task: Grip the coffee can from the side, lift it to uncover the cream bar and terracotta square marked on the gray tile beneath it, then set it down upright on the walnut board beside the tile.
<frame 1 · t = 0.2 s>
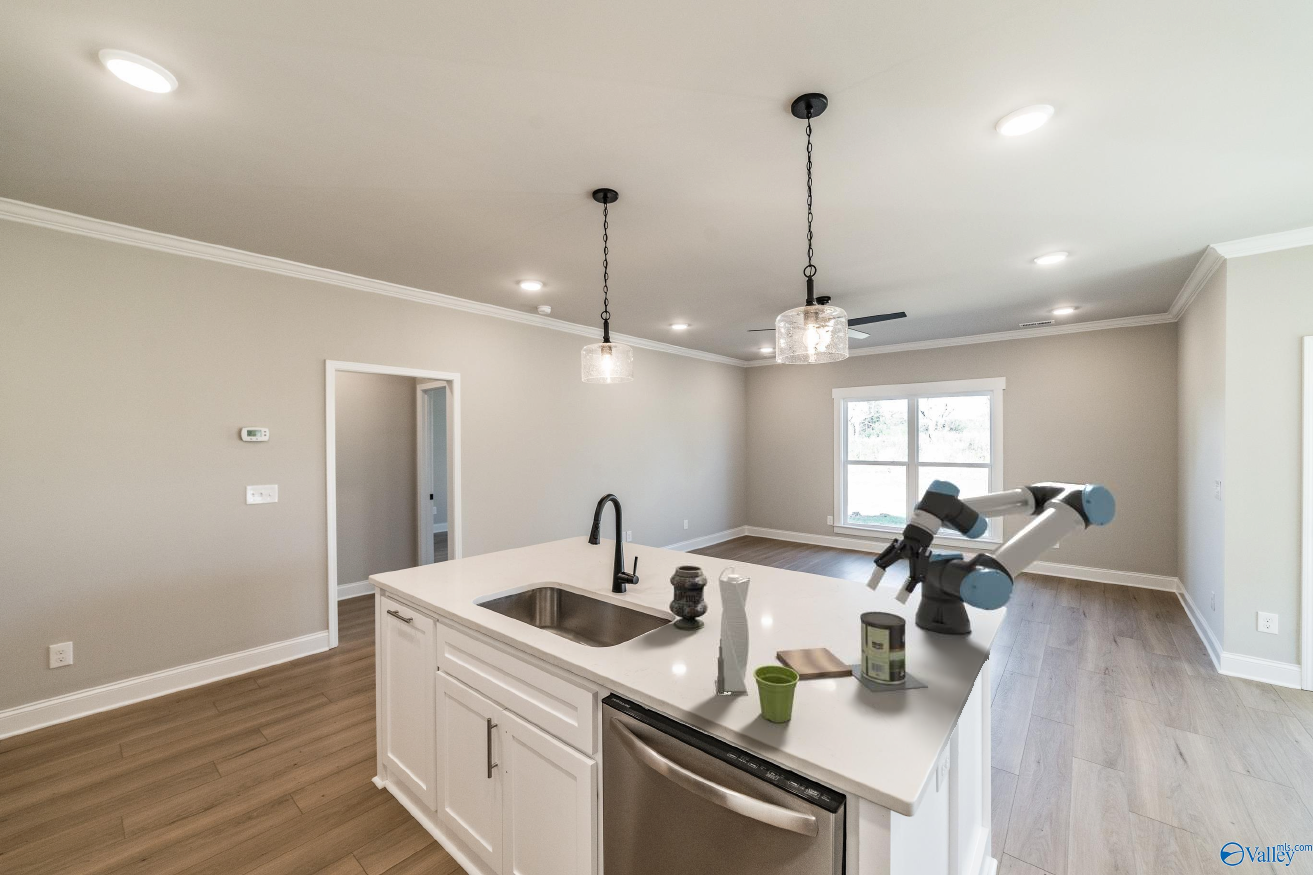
hand: (884, 594, 145), 15 cm above the table, tool tilted 35°, fingers open, 13 cm apart
walnut board: (812, 664, 135), on the table
gray tile: (882, 676, 128), on the table
apothecary jar: (688, 625, 164), on the table
skyscraper: (733, 688, 123), on the table
plant pot: (776, 716, 110), on the table
coffee can: (882, 676, 128), resting on gray tile
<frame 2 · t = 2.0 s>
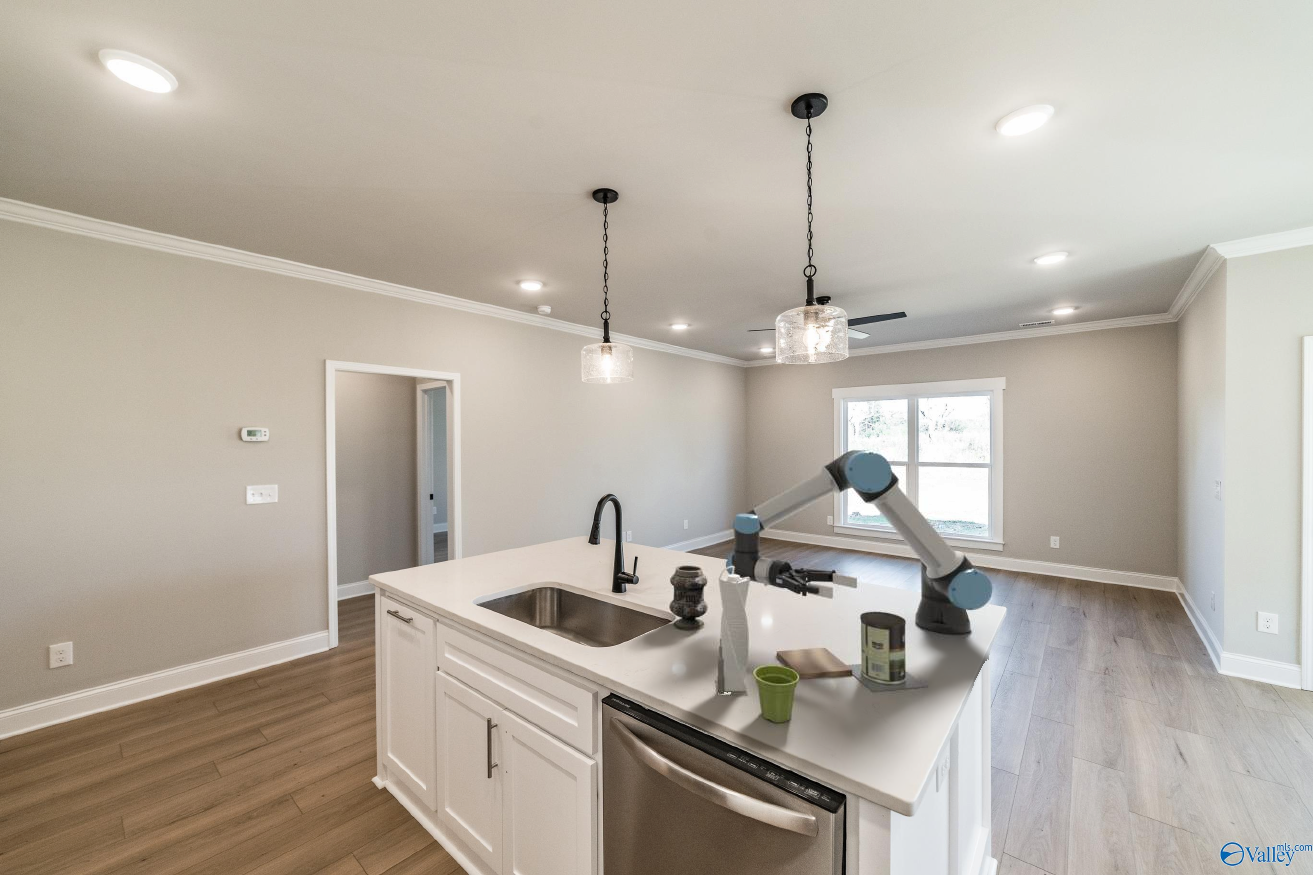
hand: (844, 587, 135), 20 cm above the table, tool horizontal, fingers open, 13 cm apart
nothing on the table moved.
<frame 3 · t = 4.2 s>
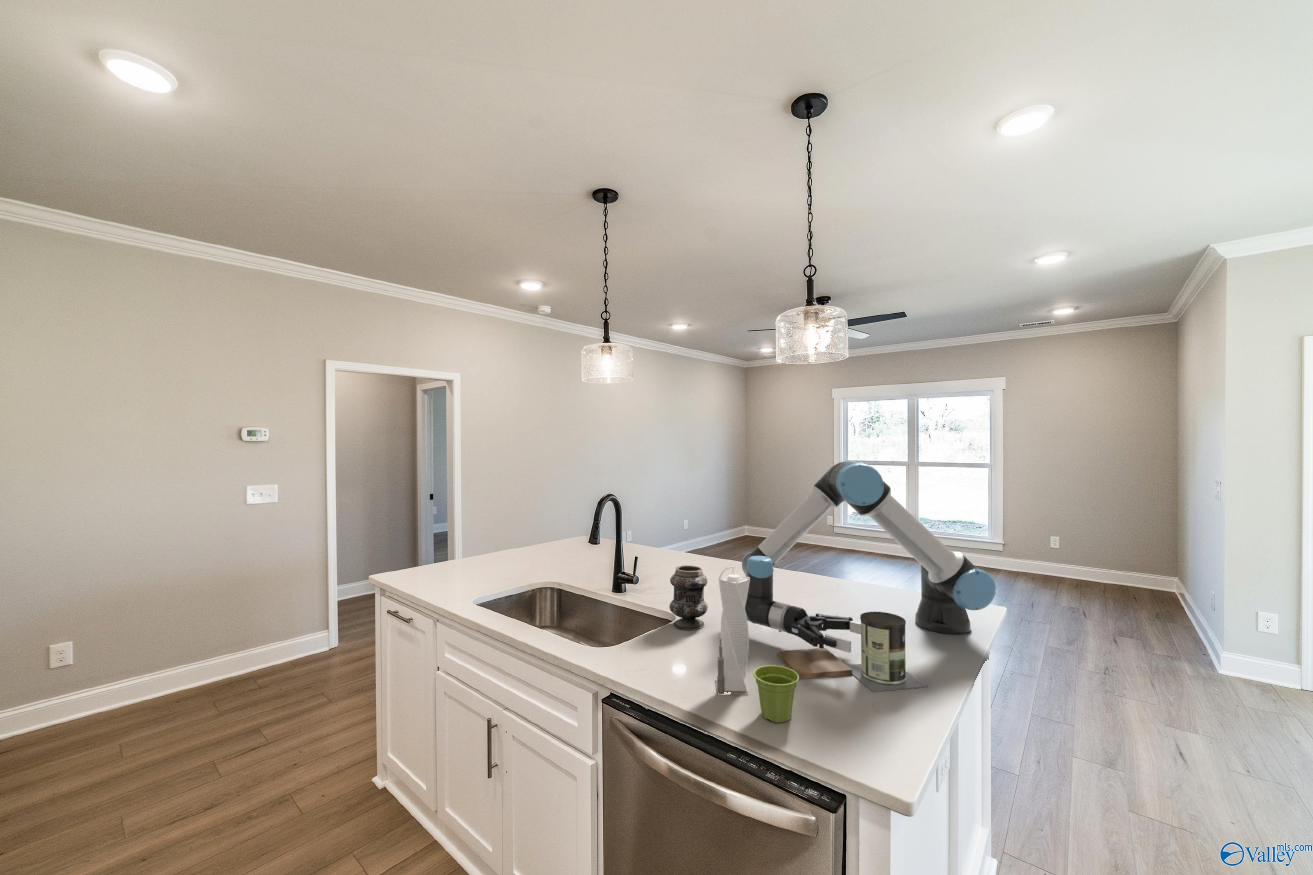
hand: (863, 639, 131), 8 cm above the table, tool horizontal, fingers open, 13 cm apart
nothing on the table moved.
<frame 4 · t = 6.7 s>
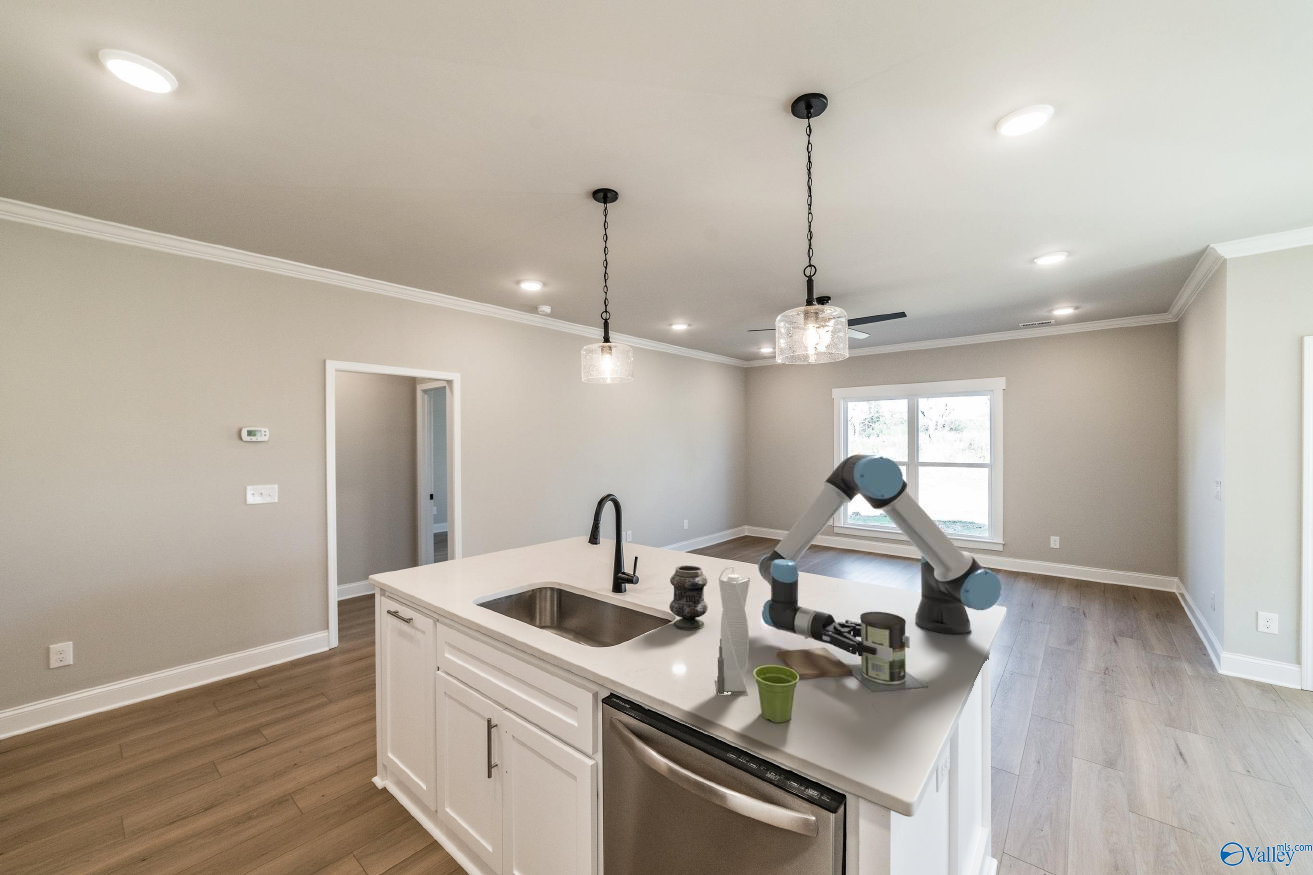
hand: (900, 648, 125), 8 cm above the table, tool horizontal, fingers closed on coffee can, 10 cm apart
coffee can: (882, 676, 128), resting on gray tile, touching gripper
everything else where it was.
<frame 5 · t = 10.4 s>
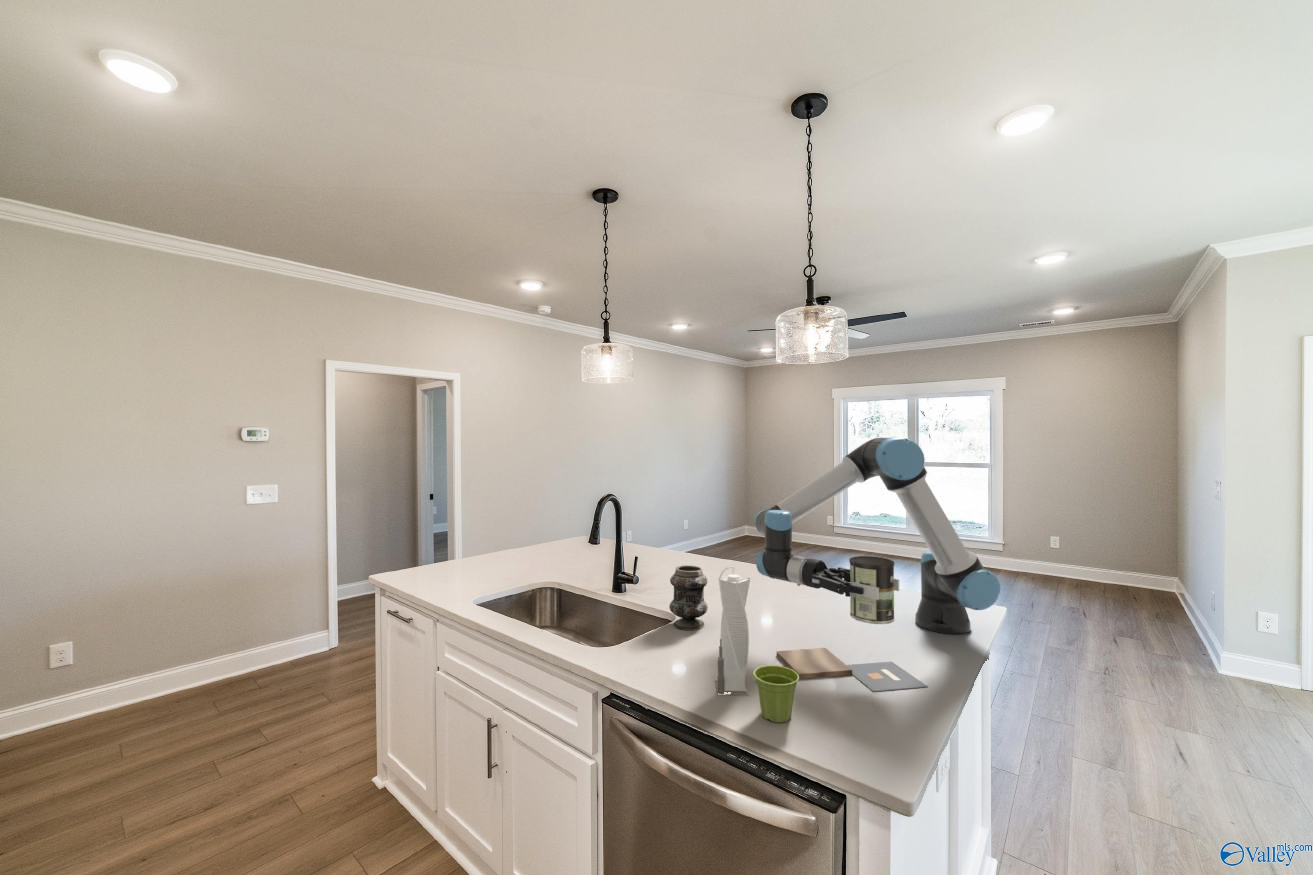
hand: (888, 589, 125), 22 cm above the table, tool horizontal, fingers closed on coffee can, 10 cm apart
coffee can: (871, 618, 129), point 14 cm above the table, touching gripper
everything else where it was.
when the fingers open (10 cm above the table, at t = 14.5 s): coffee can drops 1 cm, resting on walnut board.
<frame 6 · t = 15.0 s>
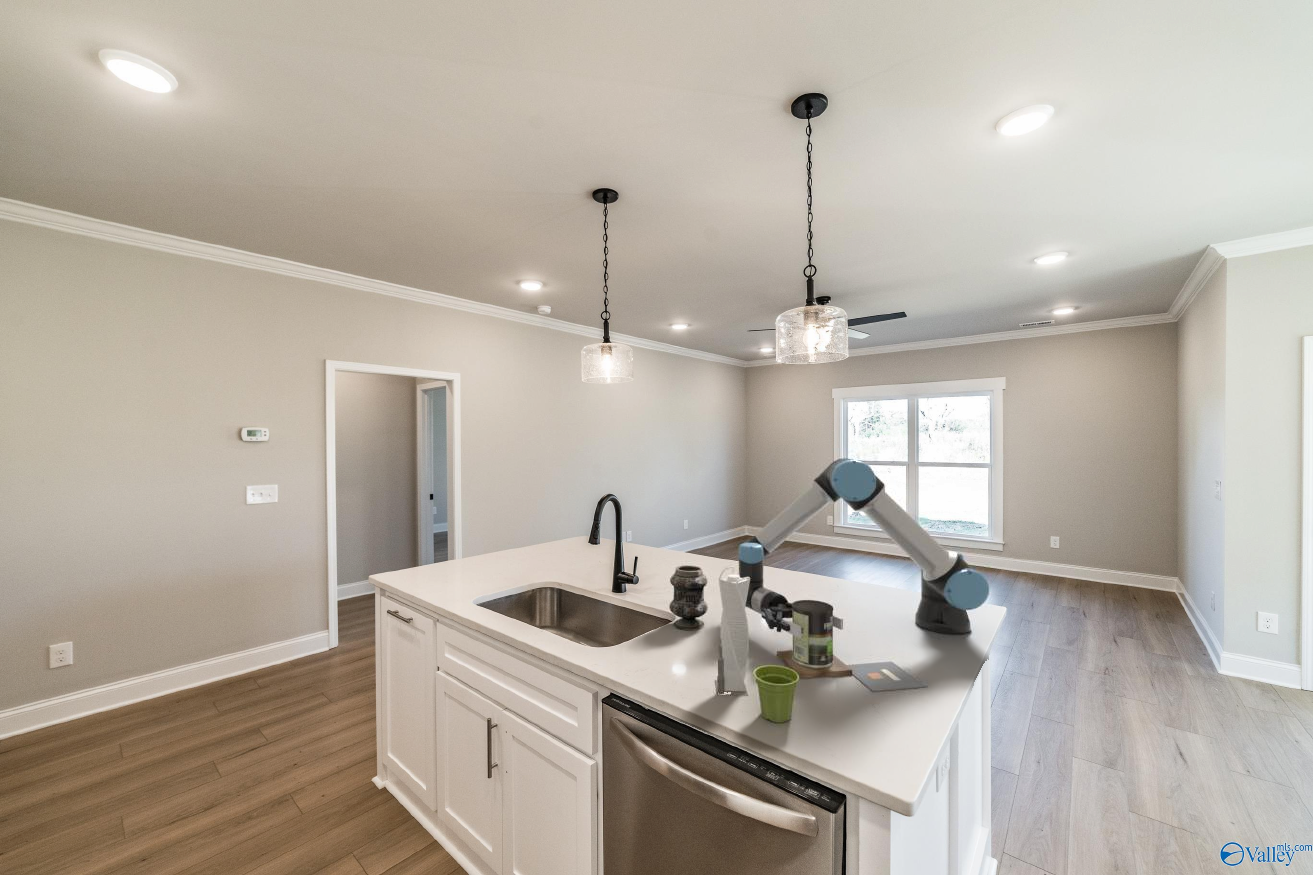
hand: (821, 628, 132), 10 cm above the table, tool horizontal, fingers open, 13 cm apart
coffee can: (812, 660, 135), point 1 cm above the table, touching walnut board
everything else where it was.
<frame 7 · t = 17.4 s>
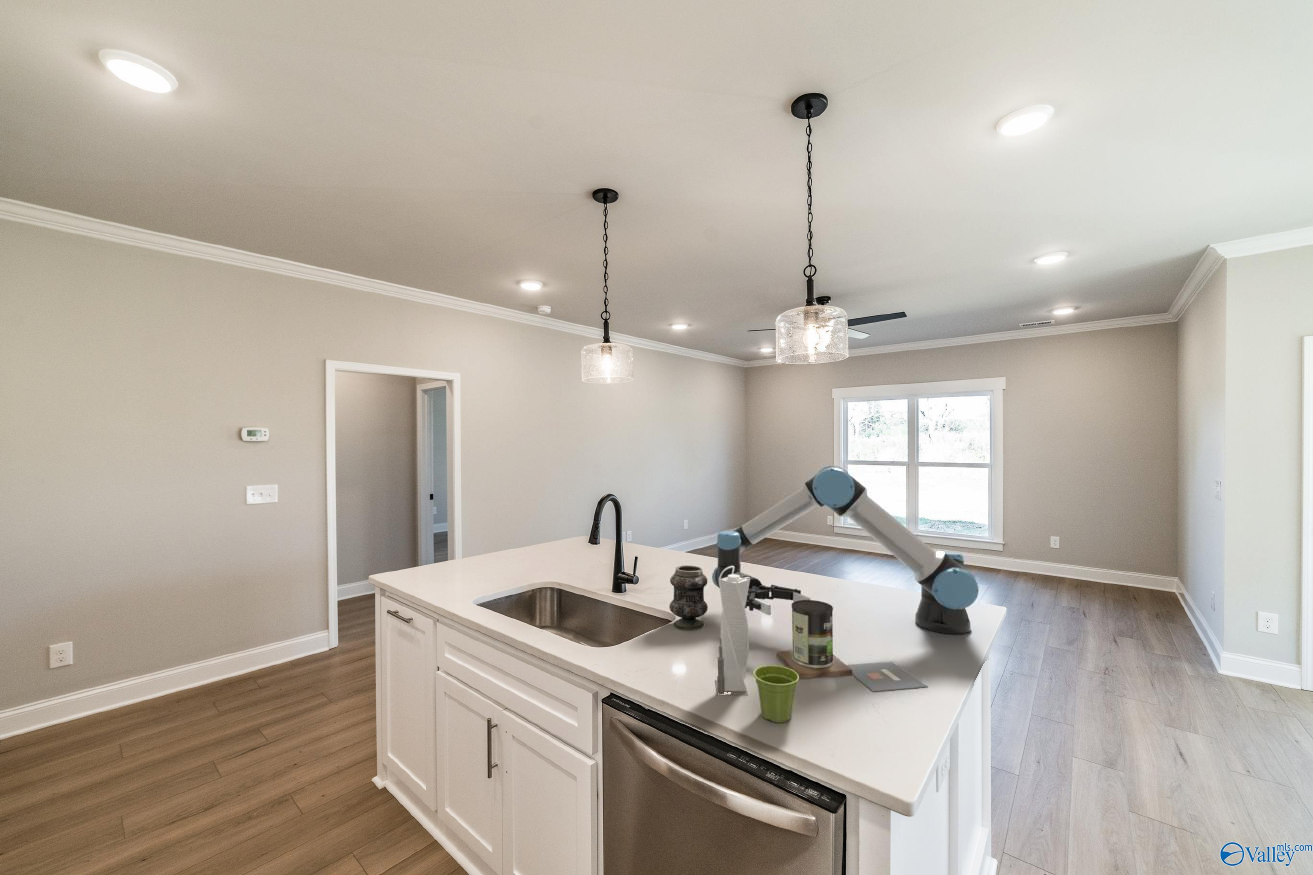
hand: (789, 606, 143), 12 cm above the table, tool horizontal, fingers open, 13 cm apart
nothing on the table moved.
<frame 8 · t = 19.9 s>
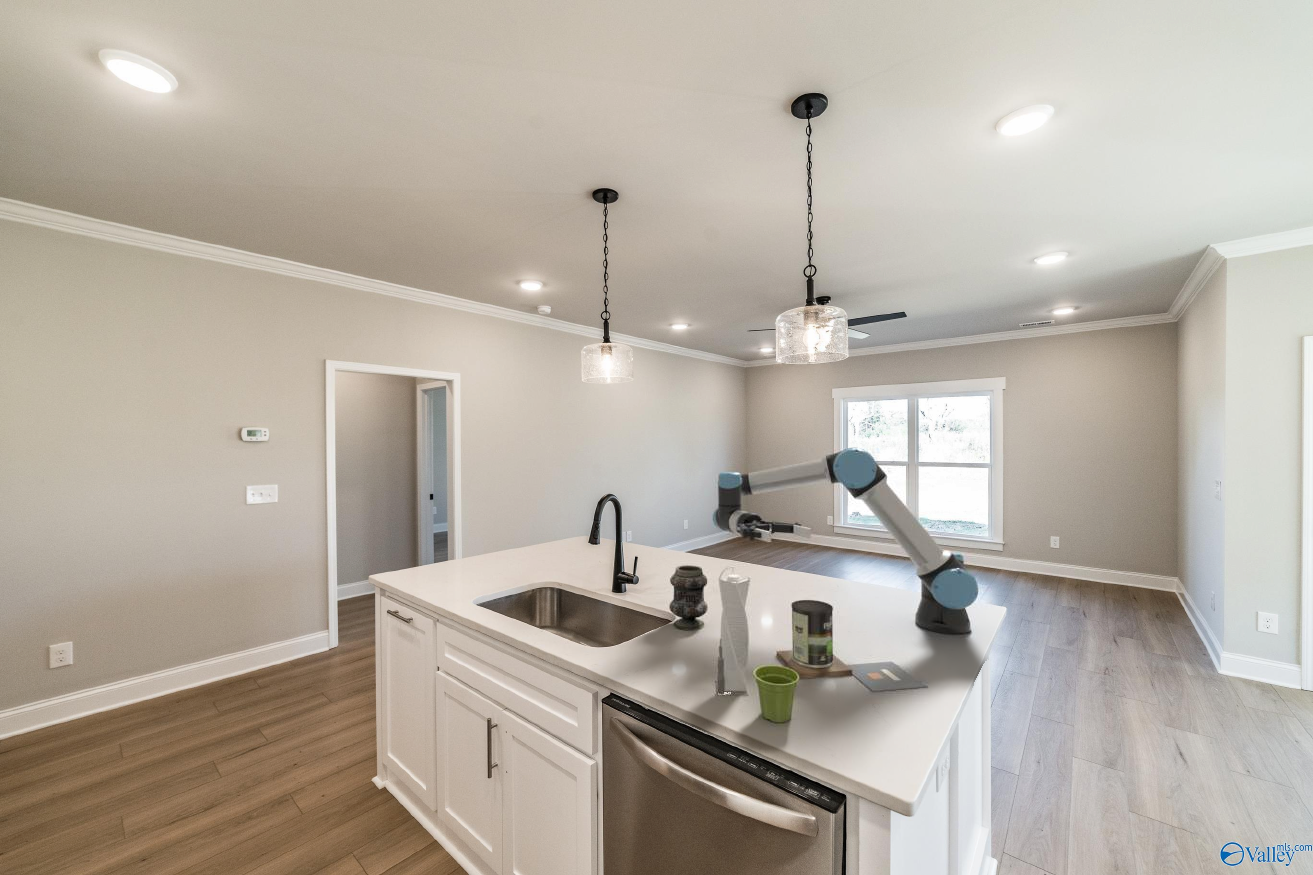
hand: (790, 535, 143), 32 cm above the table, tool horizontal, fingers open, 13 cm apart
nothing on the table moved.
at the end: coffee can inside the target area on the walnut board (0.1 cm from its centre), point 1.0 cm above the walnut board's base; coffee can tilted 0°; coffee can touching walnut board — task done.
